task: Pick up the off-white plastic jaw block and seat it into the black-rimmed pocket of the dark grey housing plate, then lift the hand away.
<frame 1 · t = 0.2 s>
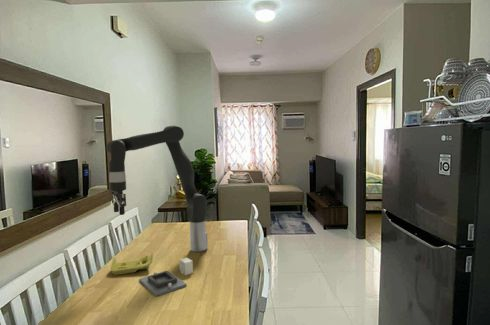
hand: (119, 213, 149), 29 cm above the table, tool pointing down, fingers open, 8 cm apart
jaw block: (186, 272, 147), on the table
plastic component: (133, 270, 151), on the table
housing plate: (162, 283, 135), on the table
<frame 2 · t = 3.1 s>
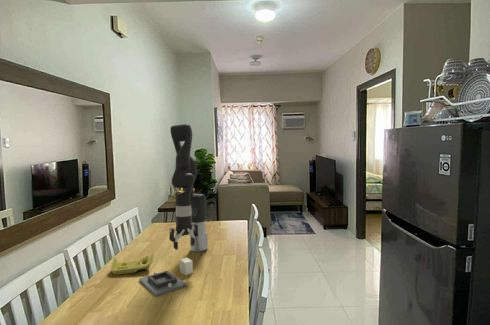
hand: (184, 247, 146), 12 cm above the table, tool pointing down, fingers open, 8 cm apart
nothing on the table moved.
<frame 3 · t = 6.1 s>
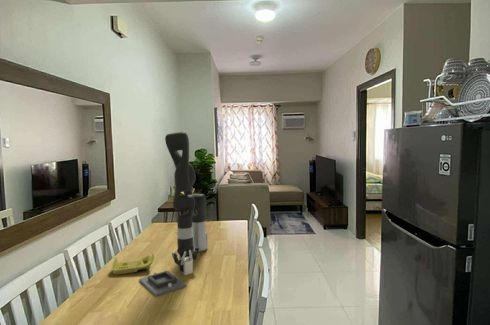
hand: (186, 270, 147), 1 cm above the table, tool pointing down, fingers closed on jaw block, 4 cm apart
jaw block: (186, 272, 147), on the table, touching gripper
everything else where it was.
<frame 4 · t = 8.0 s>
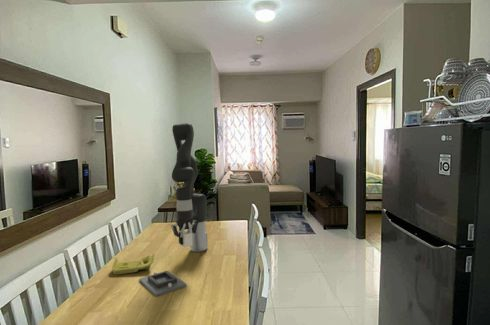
hand: (185, 243, 146), 14 cm above the table, tool pointing down, fingers closed on jaw block, 4 cm apart
jaw block: (185, 244, 146), point 13 cm above the table, touching gripper
everything else where it was.
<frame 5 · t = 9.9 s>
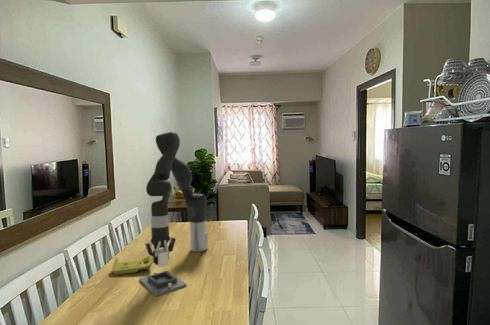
hand: (161, 262, 134), 10 cm above the table, tool pointing down, fingers closed on jaw block, 4 cm apart
jaw block: (161, 264, 134), point 9 cm above the table, touching gripper
everything else where it was.
when the fingers open (3 cm above the table, at t = 11.3 s): jaw block drops 1 cm, resting on housing plate.
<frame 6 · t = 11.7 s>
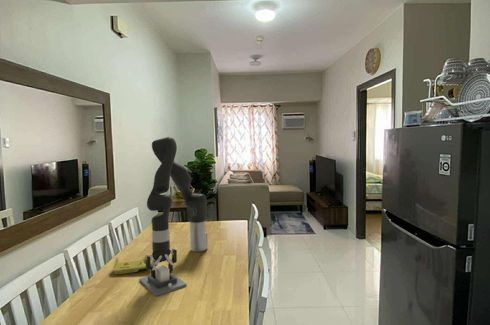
hand: (162, 275, 135), 4 cm above the table, tool pointing down, fingers open, 7 cm apart
jaw block: (162, 281, 135), point 1 cm above the table, touching housing plate
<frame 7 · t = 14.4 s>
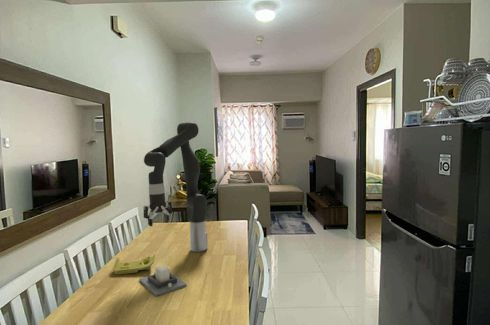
hand: (159, 224, 151), 23 cm above the table, tool pointing down, fingers open, 8 cm apart
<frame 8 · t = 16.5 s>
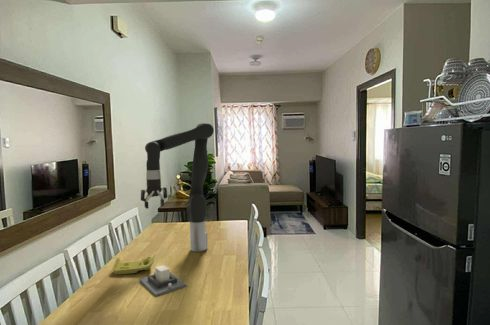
hand: (154, 207, 166), 28 cm above the table, tool pointing down, fingers open, 8 cm apart
at the end: jaw block 0.1 cm off-centre on the housing plate, point 1.0 cm above the housing plate's base; jaw block tilted 0°; the gripper is holding nothing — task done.
